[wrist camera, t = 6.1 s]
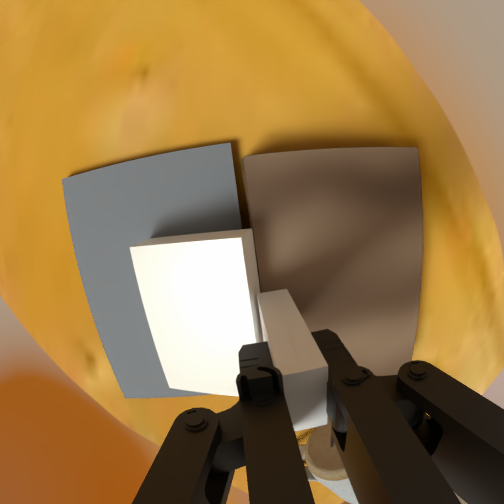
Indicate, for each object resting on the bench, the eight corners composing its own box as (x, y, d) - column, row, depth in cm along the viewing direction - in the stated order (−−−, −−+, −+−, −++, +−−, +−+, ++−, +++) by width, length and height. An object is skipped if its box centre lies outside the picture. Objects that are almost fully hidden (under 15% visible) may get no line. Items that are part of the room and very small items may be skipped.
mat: (66, 179, 15) (61, 179, 15) (230, 143, 16) (230, 142, 15) (127, 393, 19) (125, 398, 19) (263, 382, 20) (264, 387, 19)
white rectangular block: (149, 238, 16) (129, 247, 14) (252, 228, 14) (241, 237, 13) (182, 370, 18) (169, 387, 16) (271, 376, 17) (264, 398, 15)
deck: (241, 159, 16) (243, 155, 14) (396, 150, 17) (417, 147, 14) (271, 391, 20) (276, 413, 17) (393, 362, 20) (407, 378, 18)
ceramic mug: (365, 384, 21) (404, 450, 13) (394, 424, 23) (425, 477, 15) (259, 445, 22) (267, 515, 14) (304, 474, 24) (318, 531, 16)
